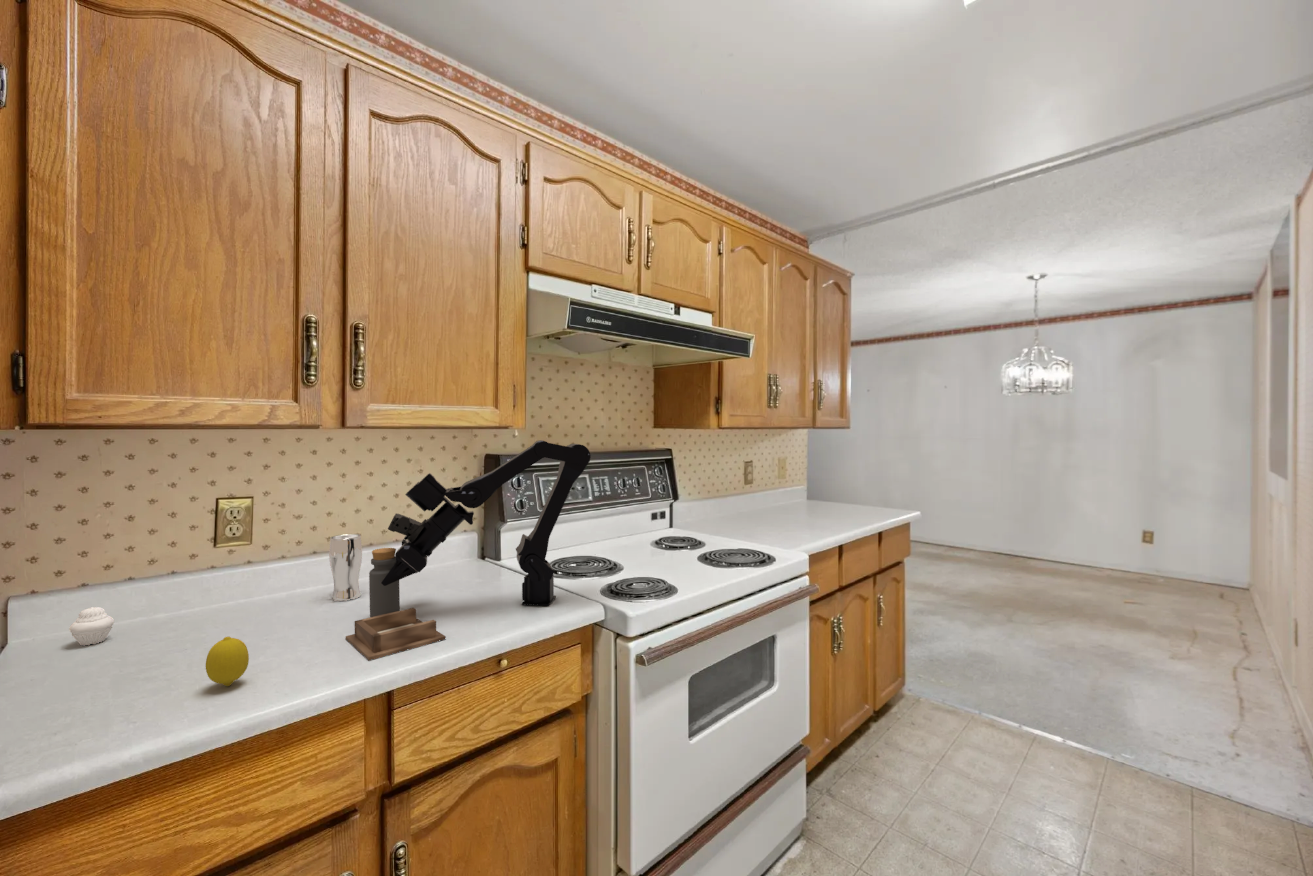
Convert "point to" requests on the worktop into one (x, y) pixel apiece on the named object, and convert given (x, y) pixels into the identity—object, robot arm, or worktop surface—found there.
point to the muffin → (91, 626)
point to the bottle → (380, 595)
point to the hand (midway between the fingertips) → (385, 578)
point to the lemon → (227, 661)
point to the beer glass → (345, 565)
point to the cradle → (392, 633)
